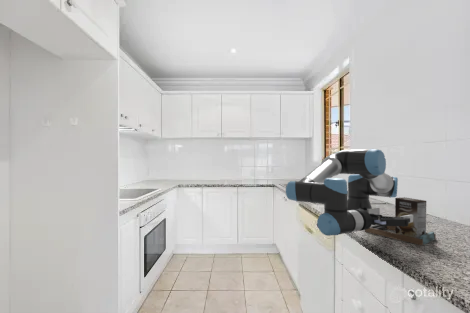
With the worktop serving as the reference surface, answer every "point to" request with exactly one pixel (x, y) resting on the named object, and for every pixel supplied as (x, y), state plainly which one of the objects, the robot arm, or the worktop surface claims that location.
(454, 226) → the worktop surface
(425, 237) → the rectangular frame
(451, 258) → the worktop surface
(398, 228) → the coffee box
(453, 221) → the worktop surface
